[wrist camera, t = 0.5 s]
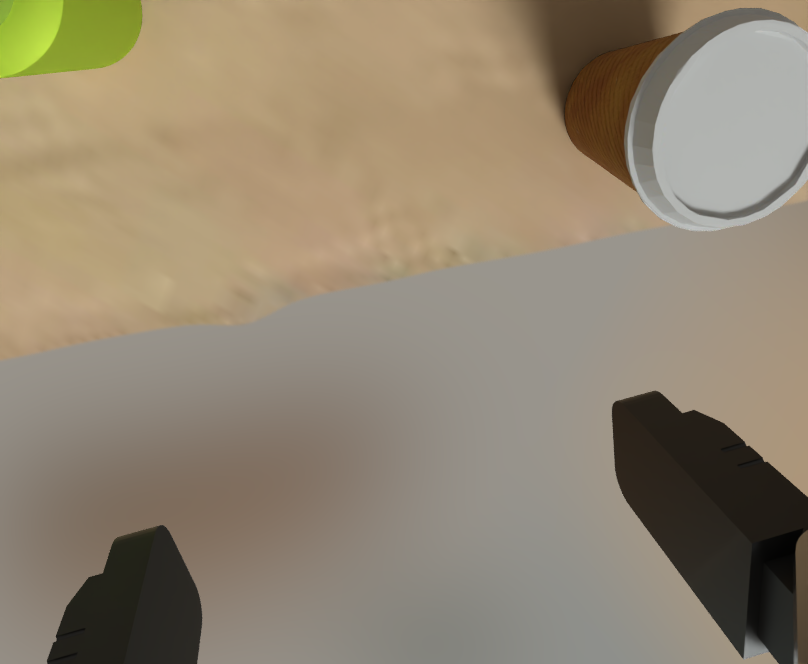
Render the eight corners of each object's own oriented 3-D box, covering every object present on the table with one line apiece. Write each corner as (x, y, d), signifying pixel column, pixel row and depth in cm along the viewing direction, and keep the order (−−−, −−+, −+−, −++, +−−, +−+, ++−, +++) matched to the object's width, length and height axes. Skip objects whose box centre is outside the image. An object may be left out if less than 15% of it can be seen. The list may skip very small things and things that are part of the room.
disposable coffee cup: (590, 218, 41) (702, 279, 30) (507, 96, 37) (602, 115, 26) (713, 117, 40) (876, 143, 29) (642, -20, 36) (799, -51, 25)
